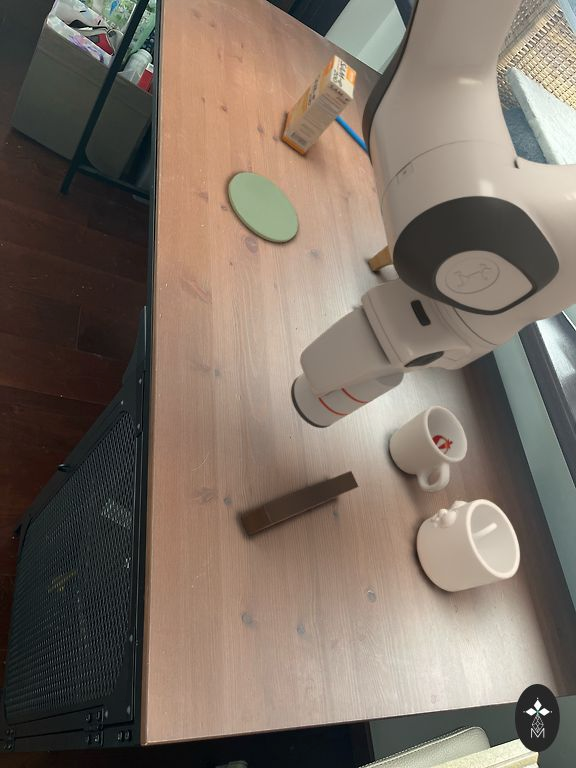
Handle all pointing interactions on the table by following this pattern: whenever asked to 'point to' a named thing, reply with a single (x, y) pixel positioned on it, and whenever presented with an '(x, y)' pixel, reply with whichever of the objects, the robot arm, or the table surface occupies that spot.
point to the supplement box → (320, 105)
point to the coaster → (263, 207)
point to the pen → (351, 132)
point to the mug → (468, 546)
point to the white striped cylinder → (337, 399)
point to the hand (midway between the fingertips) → (340, 384)
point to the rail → (298, 502)
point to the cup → (429, 446)
